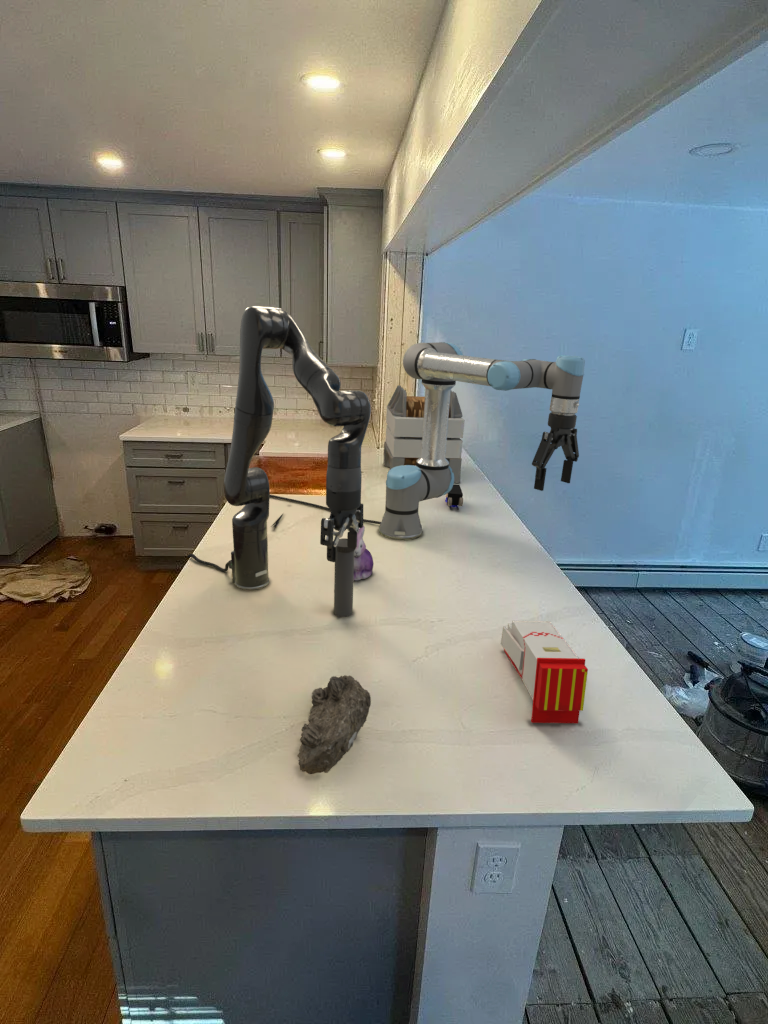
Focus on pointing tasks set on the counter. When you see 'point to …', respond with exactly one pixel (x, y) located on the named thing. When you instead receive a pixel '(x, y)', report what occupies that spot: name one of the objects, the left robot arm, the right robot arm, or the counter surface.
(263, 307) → the left robot arm
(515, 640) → the toy
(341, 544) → the lid
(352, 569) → the dark grey cylinder
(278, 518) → the dark tapered rod
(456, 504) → the figurine character
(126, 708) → the counter surface
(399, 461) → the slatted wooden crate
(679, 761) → the counter surface
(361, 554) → the figurine
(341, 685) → the fossil
